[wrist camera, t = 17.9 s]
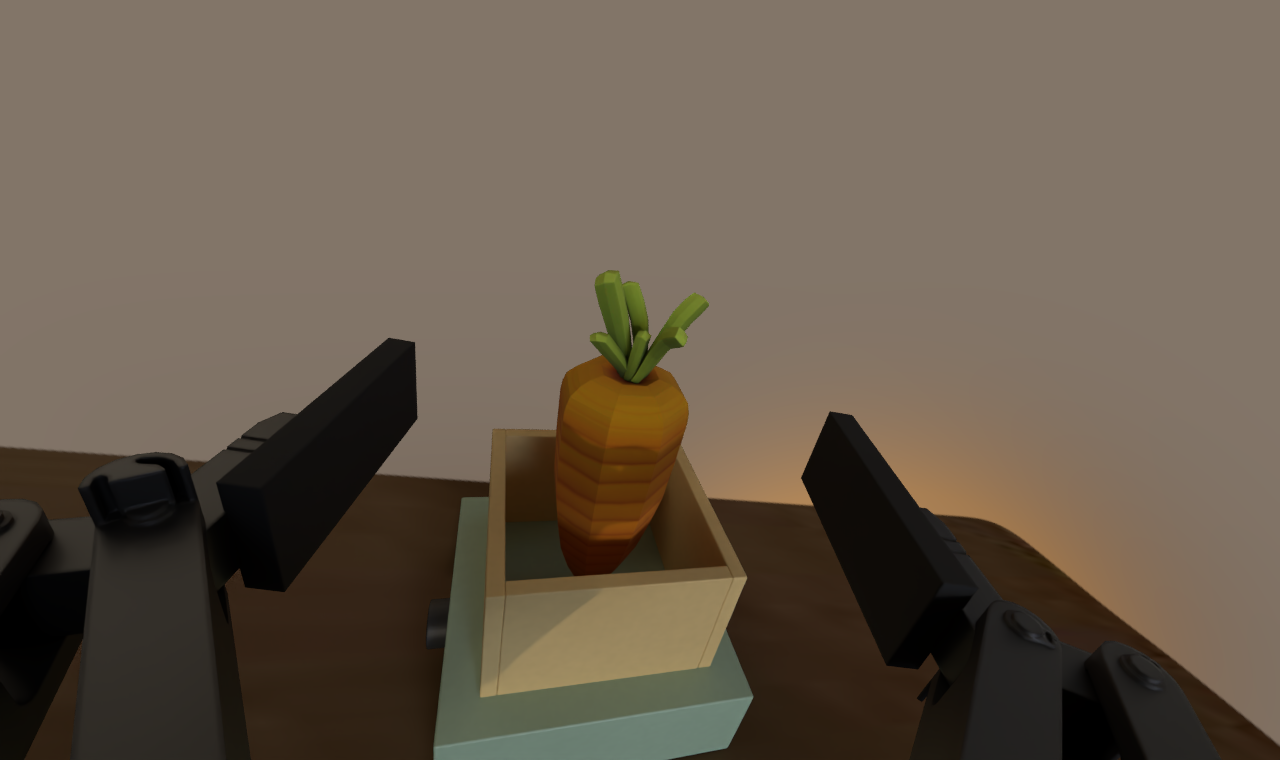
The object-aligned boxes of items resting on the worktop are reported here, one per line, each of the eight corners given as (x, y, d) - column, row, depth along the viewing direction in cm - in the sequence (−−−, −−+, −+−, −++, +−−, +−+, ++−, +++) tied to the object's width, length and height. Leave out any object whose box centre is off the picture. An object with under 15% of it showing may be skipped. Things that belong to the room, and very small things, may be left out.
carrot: (647, 558, 25) (726, 274, 18) (627, 647, 20) (720, 315, 13) (555, 531, 25) (597, 243, 18) (515, 612, 21) (550, 274, 14)
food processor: (407, 810, 18) (395, 649, 13) (443, 550, 28) (443, 410, 23) (728, 749, 21) (800, 607, 17) (657, 539, 31) (691, 417, 27)
